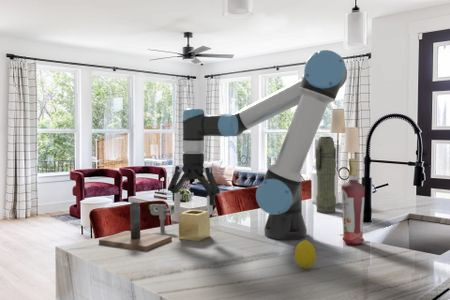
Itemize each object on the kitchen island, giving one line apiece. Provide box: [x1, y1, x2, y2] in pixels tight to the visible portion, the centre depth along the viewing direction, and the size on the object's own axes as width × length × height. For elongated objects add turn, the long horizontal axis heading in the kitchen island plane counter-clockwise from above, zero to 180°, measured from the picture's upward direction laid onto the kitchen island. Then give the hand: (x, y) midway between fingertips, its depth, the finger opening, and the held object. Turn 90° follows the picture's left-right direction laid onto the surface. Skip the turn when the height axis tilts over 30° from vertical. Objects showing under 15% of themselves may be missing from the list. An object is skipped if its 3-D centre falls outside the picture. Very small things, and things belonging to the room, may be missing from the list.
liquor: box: [341, 158, 366, 246], centre depth 134 cm, size 7×7×28 cm
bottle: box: [310, 157, 340, 205], centre depth 213 cm, size 14×14×28 cm
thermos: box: [315, 136, 337, 214], centre depth 190 cm, size 9×12×35 cm
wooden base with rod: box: [98, 201, 173, 252], centre depth 139 cm, size 20×14×14 cm
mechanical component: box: [148, 203, 175, 232], centre depth 156 cm, size 3×10×10 cm, turn 78°
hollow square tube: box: [178, 209, 211, 242], centre depth 145 cm, size 8×8×9 cm
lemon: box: [294, 239, 317, 270], centre depth 109 cm, size 6×6×8 cm
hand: (193, 212), depth 145 cm, fingers open, 13 cm apart
